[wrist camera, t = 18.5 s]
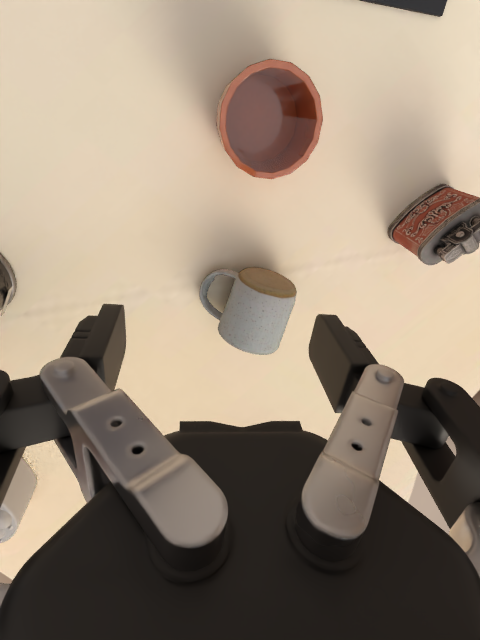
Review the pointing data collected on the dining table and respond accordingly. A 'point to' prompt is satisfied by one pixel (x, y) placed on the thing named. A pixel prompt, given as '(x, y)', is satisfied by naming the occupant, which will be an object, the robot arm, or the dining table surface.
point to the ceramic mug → (253, 309)
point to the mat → (415, 5)
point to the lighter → (439, 225)
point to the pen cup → (269, 118)
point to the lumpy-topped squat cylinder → (16, 500)
